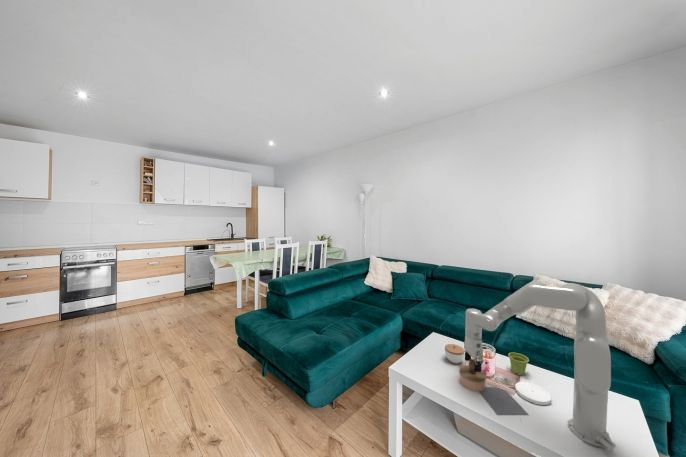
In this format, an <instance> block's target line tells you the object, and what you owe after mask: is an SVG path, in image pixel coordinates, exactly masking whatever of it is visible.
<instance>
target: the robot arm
mask: <svg viewBox="0 0 686 457" xmlns="http://www.w3.org/2000/svg"><path fill="white" fill-rule="evenodd" d="M535 306H537V307H543V308H548V309H556V310H563V311H575V324H576V325H575V336H574V341H573V342H574V343H573V356H574V357H573V358H574V360H573V362H574V363H573V364H574V365H573V368H574V369H573V370H574V373H573V374H574V378H573V379H574V380H573V399H572V400H573V402H572V403H573V404H572V405H573V407H572V418H569V419H568V420H567V424H566V425H567V428H568V429H569V431H570V432H571V433H572V434H573V435H574V436H576V437H577V438H578V439H580V440H581V441H583V442H585V443H587V444H590V445H591V446H594V447H598V448H602V449H607V450H608V451H609V452H612V451H613V450H614V448H616V443H615V442H614V441H612V438H611V437H610V433H609V432H608V431H607V426H608V425H607V423H608V421H607V419H608V402H609V390H610V388H611V386H612V384H611V383H612V376H611V375H612V371H611V369H612V368H611V367H612V364H611V363H612V362H611V360H612V359H611V351H610V346H609V342H608V336H607V320H606V317H607V316H606V312H605V308H604V305H603V303H602V302H601V300H600V299H599V297H598V296H597V295H596V294H595V293H594V292H593V291H591V290H590V289H589V288H588V287H587V286H586V287H585V286H584V285H582V284H579V283H574V282H568V283H565V284H563V285H562V286H560V287H554V286H552V287H551V286H547V285H546V284H544V283H543V282H541V281H538V280H533V281H530V282H528V283H526V284H525V285H523V286H522V287H521V288H519V289H517V290H516V291H514V292H513V293H512V294H510V295H508V296H507V297H506V298H504V299H503V301H501V302H499V303H498V304H496V305H495V306H493V307H492V308H490V309H489V310H487V311H486V312H485V313H482V311H481V310H479V309H477V308H467V309H466V310H465V329H464V330H465V332H464V334H465V336H464V341H463V345H464V346H463V349H464V361H466V362H467V361H468V362H469V360H470V359H474V360H475V364H474V371H475V372H481V370H482V365H483V363H484V347H483V346H484V345H483V340H482V337H483V335H482V333H483V330H486V331H489V332H493V331H496V330H497V329H498V327H499V326H500V325H501V324H502V323H503V322H504V321H506V320H508V319H509V318H511V317H513V316H515V315H522V314H524V313H525V312H527V311H528V310H530V309H532V308H534V307H535Z"/></svg>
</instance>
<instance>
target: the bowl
mask: <svg viewBox="0 0 686 457" xmlns="http://www.w3.org/2000/svg"><path fill="white" fill-rule="evenodd" d="M459 382H460V384H461V385H462V386H463V387H465V388H466V389H468V390H470V391H474V392H479V391H482V390H483V389H485V387H486V381H484V382H480V383H478V382H472V381H469V380H467V379H465V378H464V377H462V376H461V374H460V373H459Z"/></svg>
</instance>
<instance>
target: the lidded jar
mask: <svg viewBox="0 0 686 457" xmlns="http://www.w3.org/2000/svg"><path fill="white" fill-rule="evenodd" d="M464 350H465V348H464V347H462V346H460V345H458V344H454V343H448V344H445V346H444V354H445V357H446V359H447V360H448V361H449V362H450V363H451V364H454V365H457V364H460V363H461V362H462V361H464V360H463V359H464V358H465V352H464Z"/></svg>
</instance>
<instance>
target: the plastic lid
mask: <svg viewBox="0 0 686 457" xmlns="http://www.w3.org/2000/svg"><path fill="white" fill-rule="evenodd" d="M515 389H516V391H517V392H516V391H515V392H516V394H518V395H519V397H520V398H521V399H524V400H525V401H527V402H530V403H531V404H535V405H539V406H549V405H550V404H551V403H552V396H551V394H550V393H549V392H548V391H547V390H545V389H544V388H543V387H541V386H539V385H536V384H534V383H532V382H527V381H517V382H516V383H515V385H514V390H515Z"/></svg>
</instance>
